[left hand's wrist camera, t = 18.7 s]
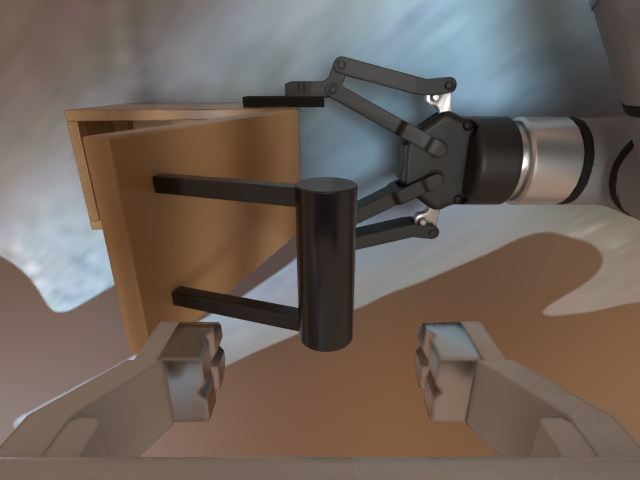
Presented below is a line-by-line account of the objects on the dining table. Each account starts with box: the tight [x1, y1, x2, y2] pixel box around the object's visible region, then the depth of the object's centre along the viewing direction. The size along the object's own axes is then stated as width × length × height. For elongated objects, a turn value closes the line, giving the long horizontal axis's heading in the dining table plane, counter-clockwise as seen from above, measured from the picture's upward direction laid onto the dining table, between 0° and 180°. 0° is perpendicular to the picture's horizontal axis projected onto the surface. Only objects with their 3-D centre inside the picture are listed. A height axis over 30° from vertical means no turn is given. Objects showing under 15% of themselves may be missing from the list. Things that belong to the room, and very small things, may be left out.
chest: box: [64, 103, 295, 230], centre depth 35 cm, size 17×9×10 cm, turn 90°
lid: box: [83, 109, 357, 355], centre depth 21 cm, size 17×9×10 cm
